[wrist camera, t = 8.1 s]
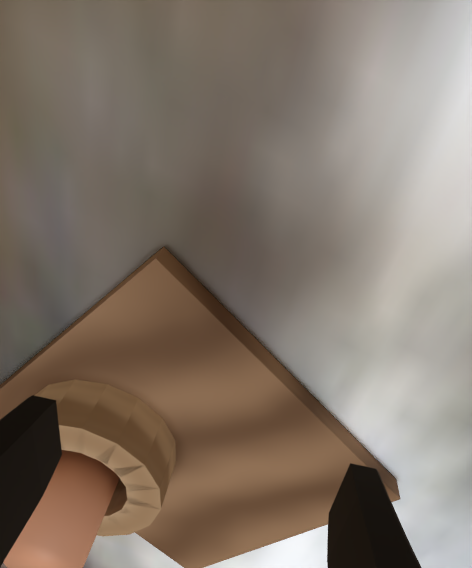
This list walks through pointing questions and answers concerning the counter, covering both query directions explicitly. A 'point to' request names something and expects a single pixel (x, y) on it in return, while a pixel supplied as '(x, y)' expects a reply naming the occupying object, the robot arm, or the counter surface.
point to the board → (206, 414)
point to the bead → (118, 448)
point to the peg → (66, 515)
